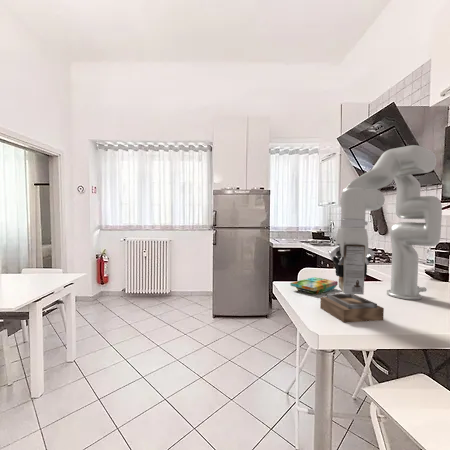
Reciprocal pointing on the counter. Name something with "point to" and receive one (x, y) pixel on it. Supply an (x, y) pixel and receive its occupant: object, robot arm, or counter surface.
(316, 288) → the puzzle game
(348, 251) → the coffee box
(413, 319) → the counter surface
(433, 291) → the counter surface
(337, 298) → the plinth
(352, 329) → the counter surface
